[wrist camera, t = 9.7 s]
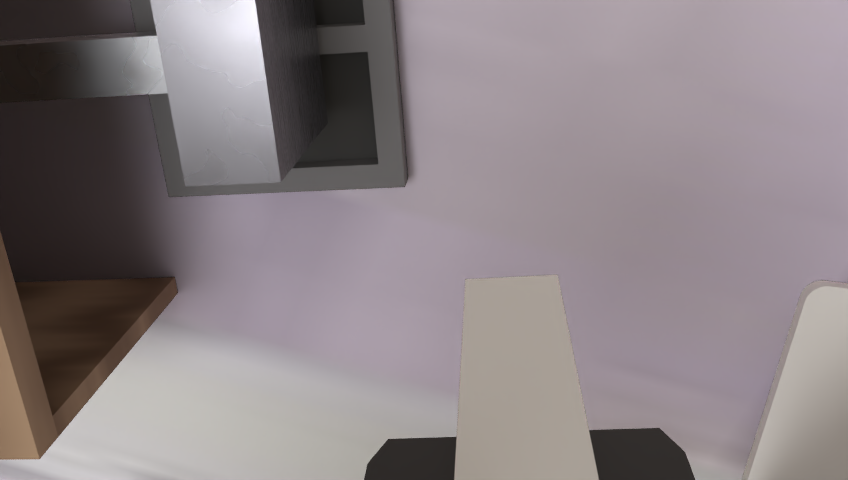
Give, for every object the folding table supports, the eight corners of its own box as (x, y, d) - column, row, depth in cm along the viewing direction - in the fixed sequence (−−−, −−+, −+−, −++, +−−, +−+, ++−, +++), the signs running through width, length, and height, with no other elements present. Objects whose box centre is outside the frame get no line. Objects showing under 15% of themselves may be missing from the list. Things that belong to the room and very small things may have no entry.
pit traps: (178, 188, 35) (168, 197, 34) (121, -113, 31) (107, -114, 30) (407, 177, 34) (405, 186, 33) (382, -135, 30) (377, -137, 29)
